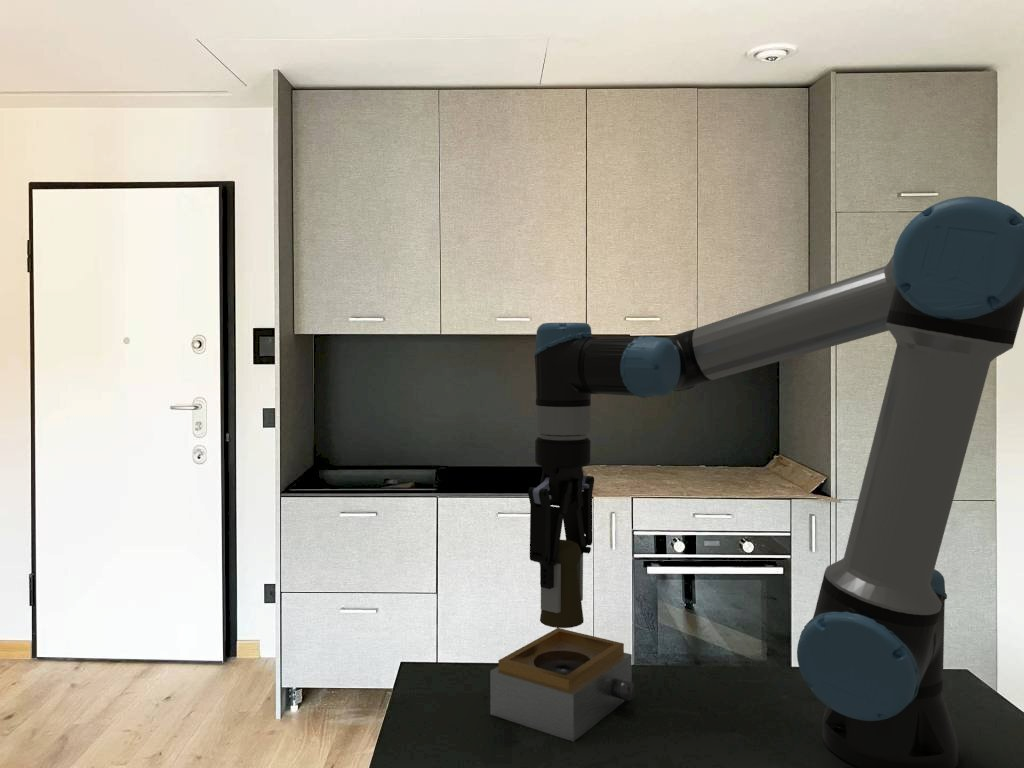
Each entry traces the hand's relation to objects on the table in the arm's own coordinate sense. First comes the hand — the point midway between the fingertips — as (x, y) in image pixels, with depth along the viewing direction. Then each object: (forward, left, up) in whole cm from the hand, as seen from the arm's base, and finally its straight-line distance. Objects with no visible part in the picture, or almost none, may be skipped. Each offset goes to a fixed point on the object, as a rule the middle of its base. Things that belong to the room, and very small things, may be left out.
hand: (562, 604), depth 110 cm
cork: (0, 0, -2) cm, 2 cm away
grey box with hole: (-1, 0, -14) cm, 14 cm away
